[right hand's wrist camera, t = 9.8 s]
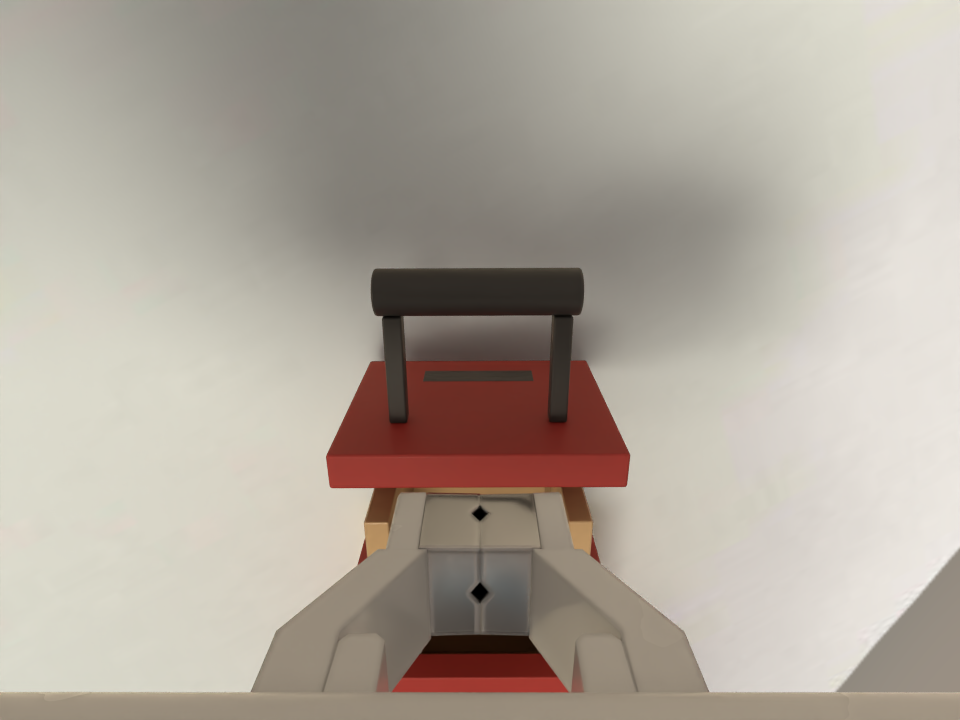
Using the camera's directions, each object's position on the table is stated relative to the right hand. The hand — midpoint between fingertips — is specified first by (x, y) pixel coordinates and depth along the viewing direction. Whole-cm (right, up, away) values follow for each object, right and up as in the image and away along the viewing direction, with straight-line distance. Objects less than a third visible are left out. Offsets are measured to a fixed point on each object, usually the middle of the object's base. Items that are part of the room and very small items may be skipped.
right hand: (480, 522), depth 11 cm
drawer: (0, -2, +15) cm, 16 cm away
